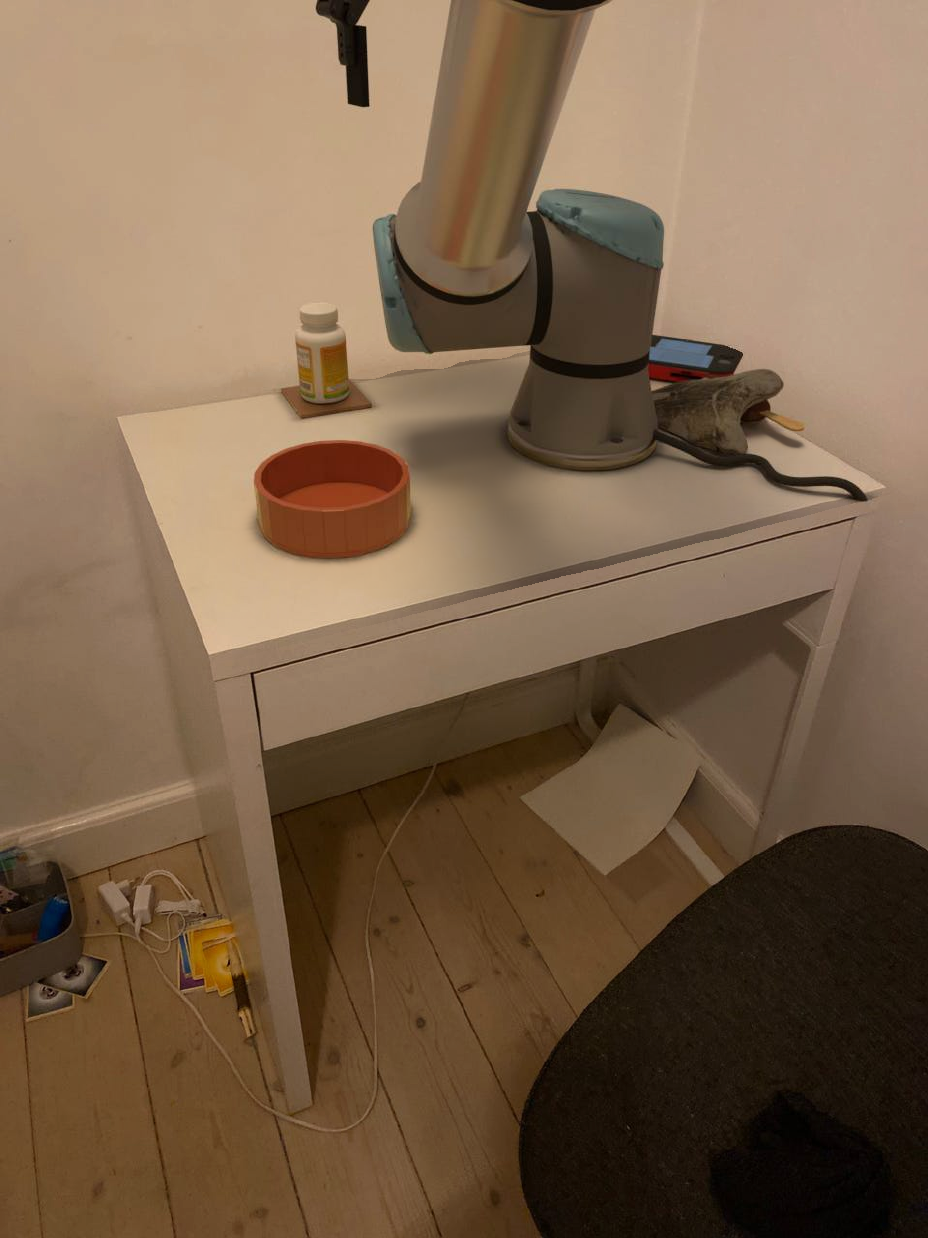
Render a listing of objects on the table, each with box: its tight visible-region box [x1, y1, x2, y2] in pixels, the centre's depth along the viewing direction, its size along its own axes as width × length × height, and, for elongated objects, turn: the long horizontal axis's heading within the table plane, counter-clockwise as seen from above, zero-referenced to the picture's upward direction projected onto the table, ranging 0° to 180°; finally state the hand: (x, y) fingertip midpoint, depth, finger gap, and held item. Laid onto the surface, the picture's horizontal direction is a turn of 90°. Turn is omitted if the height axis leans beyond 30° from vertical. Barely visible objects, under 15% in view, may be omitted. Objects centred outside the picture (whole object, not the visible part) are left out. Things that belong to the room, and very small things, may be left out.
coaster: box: [280, 379, 373, 419], centre depth 106 cm, size 8×8×1 cm
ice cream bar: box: [701, 375, 805, 432], centre depth 101 cm, size 3×5×15 cm
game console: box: [648, 334, 744, 383], centre depth 115 cm, size 14×13×2 cm
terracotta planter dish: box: [253, 439, 412, 559], centre depth 83 cm, size 13×13×4 cm
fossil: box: [652, 368, 785, 455], centre depth 100 cm, size 11×5×15 cm
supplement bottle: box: [294, 301, 350, 404], centre depth 103 cm, size 5×5×10 cm
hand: (416, 100), depth 94 cm, fingers open, 13 cm apart
